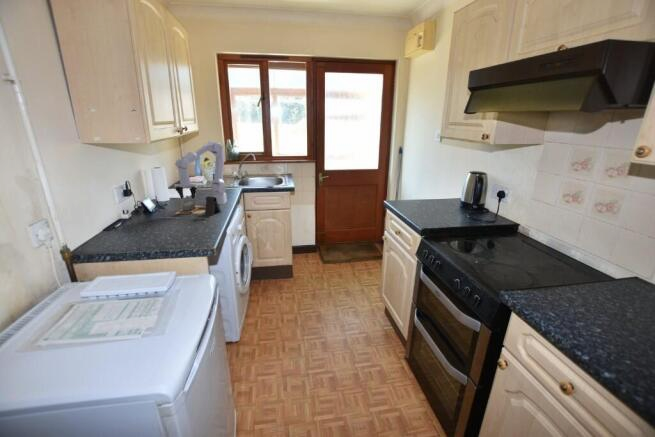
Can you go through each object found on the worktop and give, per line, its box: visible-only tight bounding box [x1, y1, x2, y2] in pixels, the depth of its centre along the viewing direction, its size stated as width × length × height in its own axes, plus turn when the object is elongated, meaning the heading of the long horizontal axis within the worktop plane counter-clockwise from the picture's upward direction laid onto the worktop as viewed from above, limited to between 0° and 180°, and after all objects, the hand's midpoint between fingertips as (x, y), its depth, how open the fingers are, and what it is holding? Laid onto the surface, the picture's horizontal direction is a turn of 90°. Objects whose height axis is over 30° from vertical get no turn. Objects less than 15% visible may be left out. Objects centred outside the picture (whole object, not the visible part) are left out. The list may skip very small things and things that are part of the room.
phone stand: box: [204, 196, 222, 217], centre depth 191 cm, size 9×6×12 cm, turn 158°
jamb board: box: [174, 205, 206, 215], centre depth 201 cm, size 18×18×2 cm
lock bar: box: [182, 201, 196, 211], centre depth 196 cm, size 8×4×5 cm, turn 176°
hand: (187, 198), depth 195 cm, fingers open, 7 cm apart
